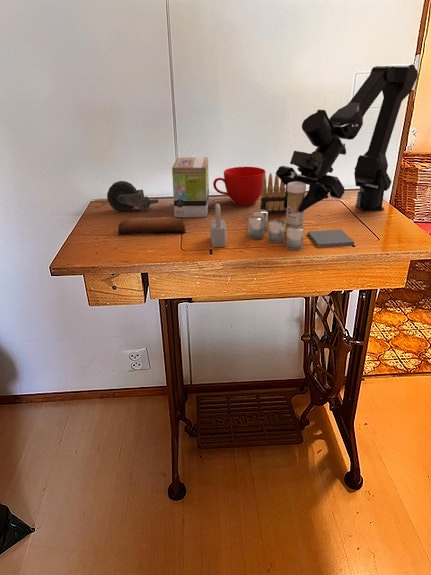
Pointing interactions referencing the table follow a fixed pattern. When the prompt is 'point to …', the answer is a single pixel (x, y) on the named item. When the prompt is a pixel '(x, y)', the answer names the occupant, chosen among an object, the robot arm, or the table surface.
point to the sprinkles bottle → (295, 203)
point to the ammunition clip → (273, 196)
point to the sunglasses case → (151, 225)
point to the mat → (330, 238)
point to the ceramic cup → (242, 184)
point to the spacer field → (275, 230)
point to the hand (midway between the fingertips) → (291, 209)
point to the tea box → (190, 187)
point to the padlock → (218, 229)
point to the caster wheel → (127, 197)
